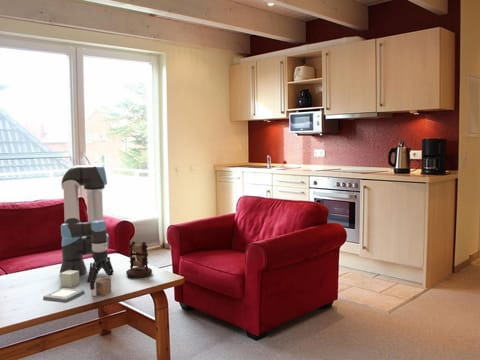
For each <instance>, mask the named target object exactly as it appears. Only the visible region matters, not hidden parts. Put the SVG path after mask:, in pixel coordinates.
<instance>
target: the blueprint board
mask: <svg viewBox="0 0 480 360" xmlns="http://www.w3.org/2000/svg"><path fill="white" fill-rule="evenodd" d="M83 294H85V289H84V290H83V289H76V288H66V287H61V288H59V289H57V290H55V291H52V292H50V293H47V294H45V295H44V296H43V297H42V298H43V300H45V301H46V300H48V301H56V302H64V303H67V302H69V301H72V300H73V299H76V298H78V297H80V296H81V295H83Z"/></svg>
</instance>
